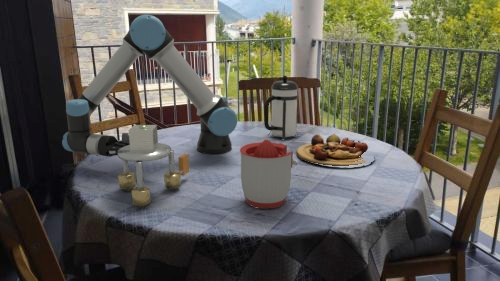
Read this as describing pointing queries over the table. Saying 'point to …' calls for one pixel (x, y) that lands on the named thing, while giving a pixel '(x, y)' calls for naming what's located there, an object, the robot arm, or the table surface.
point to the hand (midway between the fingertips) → (161, 152)
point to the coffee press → (282, 109)
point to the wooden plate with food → (332, 151)
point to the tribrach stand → (140, 159)
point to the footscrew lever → (173, 176)
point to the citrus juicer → (266, 173)
